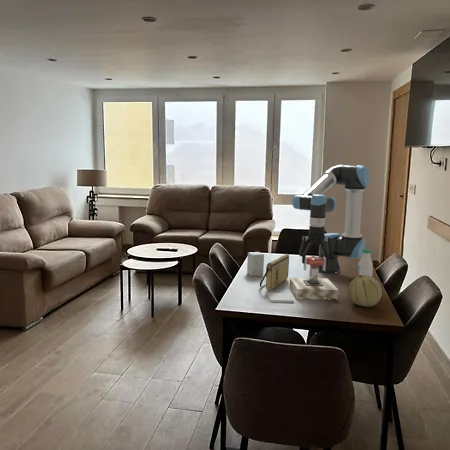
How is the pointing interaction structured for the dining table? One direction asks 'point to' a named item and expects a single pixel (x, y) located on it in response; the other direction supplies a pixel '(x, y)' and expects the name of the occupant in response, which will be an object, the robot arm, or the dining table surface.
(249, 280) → the dining table surface
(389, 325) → the dining table surface
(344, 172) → the robot arm
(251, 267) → the supplement box
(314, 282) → the screw pin
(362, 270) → the milk bottle
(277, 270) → the clutch purse
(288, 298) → the rubber mat
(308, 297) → the block
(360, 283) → the cantaloupe
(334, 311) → the dining table surface
